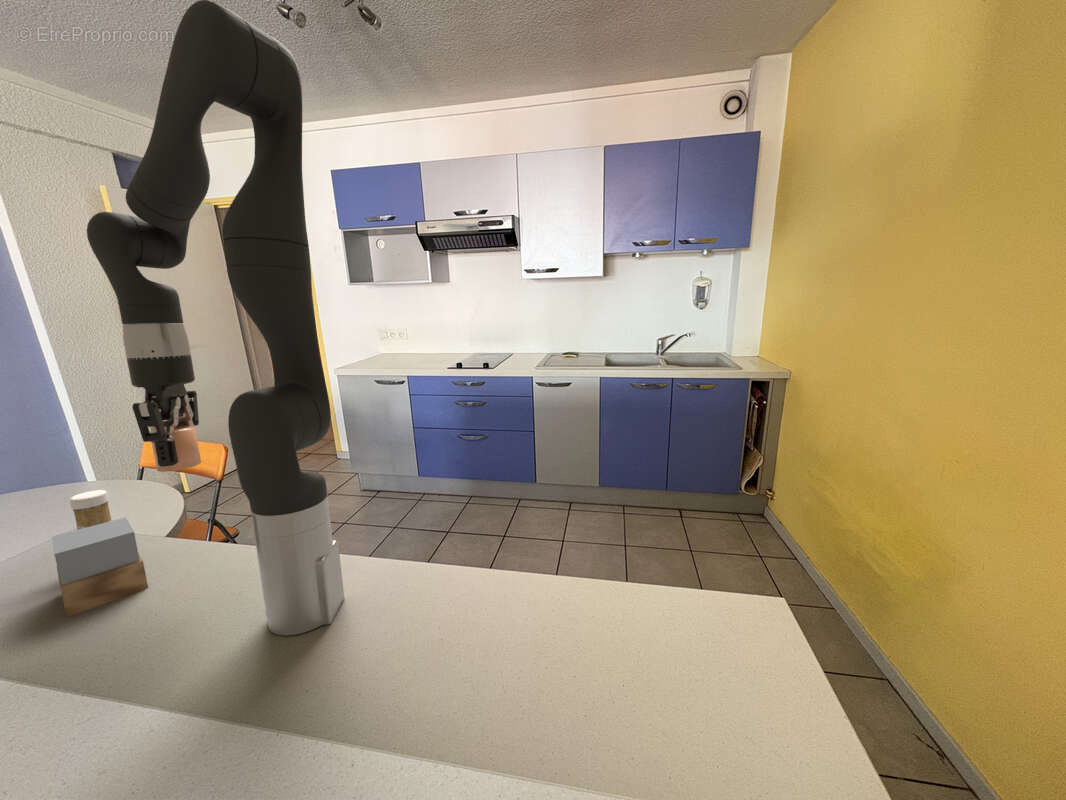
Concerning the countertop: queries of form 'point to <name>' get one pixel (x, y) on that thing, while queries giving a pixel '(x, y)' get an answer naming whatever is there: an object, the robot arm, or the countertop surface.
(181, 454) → the terracotta cylinder
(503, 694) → the countertop surface
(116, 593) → the walnut base block
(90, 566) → the slate top block
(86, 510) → the sprinkles bottle
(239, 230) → the robot arm
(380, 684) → the countertop surface
